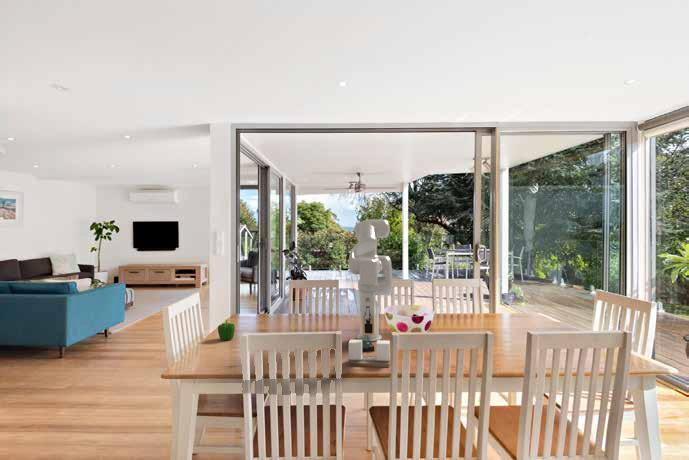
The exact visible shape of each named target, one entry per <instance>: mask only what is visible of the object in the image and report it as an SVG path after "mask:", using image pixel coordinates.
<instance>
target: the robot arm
mask: <svg viewBox="0 0 689 460" xmlns="http://www.w3.org/2000/svg"><path fill="white" fill-rule="evenodd" d="M354 232H355V237H356V240H357V241H358V242H356V243H355V245H354V246H353V247H352V248H351V250H350V252H349V258H348V259H349V260H348V269H349V272H350V274H352V275H356V276H357V275H359V279H358V280H357V288H358V289H357V290H358V296H359V328H360V330H359V334H358V335H357V336H356V339H365V338H368V339H369V340H370V341H371V342H377V340H382V338H383V336H382V335H381V334H380V332H379V331H380V327H379V317H380V316H379V303H378V300H377V299H376V296H390V295H392V291H393V269H392V260H391V257H389V256H388V255H377V254H378V249H377V246H378V239H380V238H381V239H383V238H384V239H385V238H388V237H389V235H390V232H391V227H390V223H389V221H388V220H387V219H379V218H378V219H365V220H362V221H359V222H356V224H355V225H354ZM378 275H382V276H378ZM369 315H371V316H369ZM362 316H365V333H372V332H373V331H372V316H373V317H374V316H375V335H363V322H362Z"/></svg>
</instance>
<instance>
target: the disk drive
mask: <svg viewBox="0 0 689 460" xmlns="http://www.w3.org/2000/svg"><path fill="white" fill-rule="evenodd" d="M350 340H362V353H370V352H375V345H374V344H373V342H372V341H370V340H369V339H368V338H365V339H357V338H355V339H348V341H347V344H348V345H349V341H350Z"/></svg>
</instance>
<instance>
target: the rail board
mask: <svg viewBox="0 0 689 460" xmlns="http://www.w3.org/2000/svg"><path fill="white" fill-rule="evenodd" d="M348 341H349V340H348ZM390 347H391V345H390V340H382V339H380V340H377V341H376V356H375V355H371V356H370V355H363V352H362V340H352V339H350V341H349V344H348V362H347V366H348V367H369V368H370V367H373V368H376V367H377V368H390V365H391V349H390Z"/></svg>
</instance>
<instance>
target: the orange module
mask: <svg viewBox="0 0 689 460" xmlns="http://www.w3.org/2000/svg"><path fill="white" fill-rule="evenodd" d="M369 316H371V315H369ZM362 322H363V335H375V316H374V317H373V316H372V331H373V332H372V333H365V316H362Z"/></svg>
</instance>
